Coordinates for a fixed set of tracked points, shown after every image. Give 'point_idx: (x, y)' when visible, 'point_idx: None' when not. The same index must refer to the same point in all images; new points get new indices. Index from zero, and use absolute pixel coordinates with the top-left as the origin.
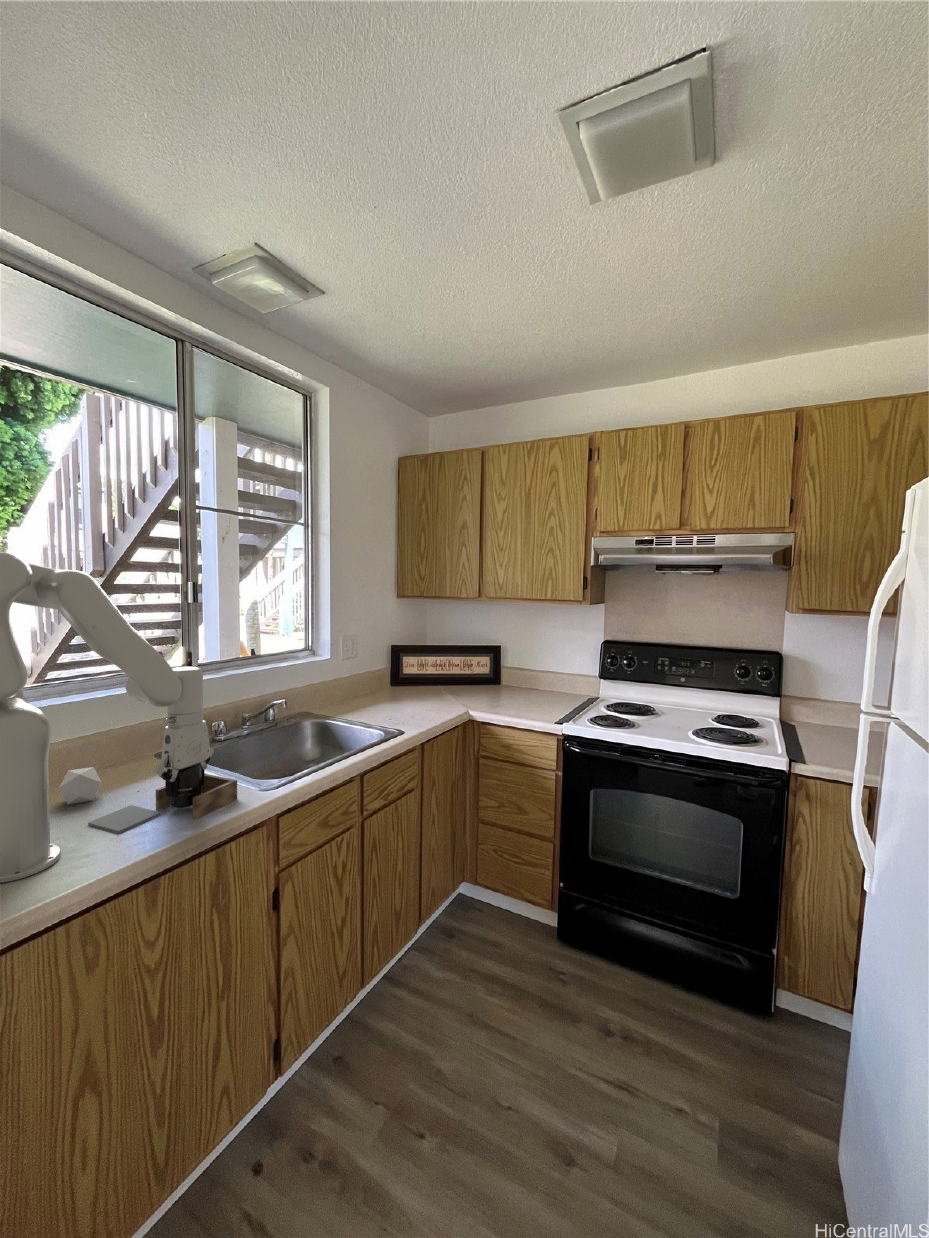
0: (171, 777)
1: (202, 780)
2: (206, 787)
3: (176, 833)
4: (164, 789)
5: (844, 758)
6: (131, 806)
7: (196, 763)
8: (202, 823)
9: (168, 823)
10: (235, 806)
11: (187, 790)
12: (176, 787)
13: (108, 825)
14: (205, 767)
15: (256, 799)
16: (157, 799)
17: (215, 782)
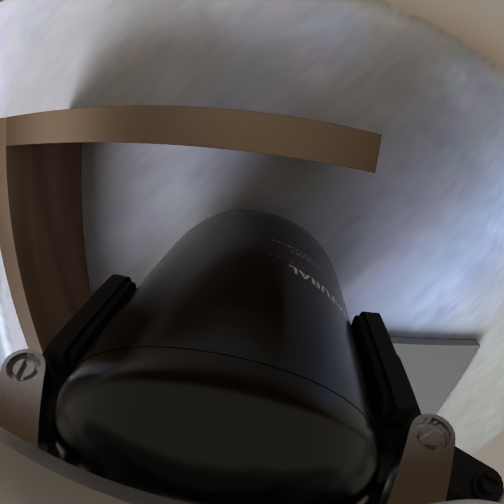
0: (453, 450)
1: (109, 300)
2: (72, 306)
3: (476, 133)
4: None
5: None
6: None
7: (128, 500)
8: (370, 67)
9: (405, 238)
10: (135, 48)
11: (322, 283)
12: (392, 359)
13: (439, 397)
14: (22, 360)
15: (52, 32)
16: None
17: (39, 268)
